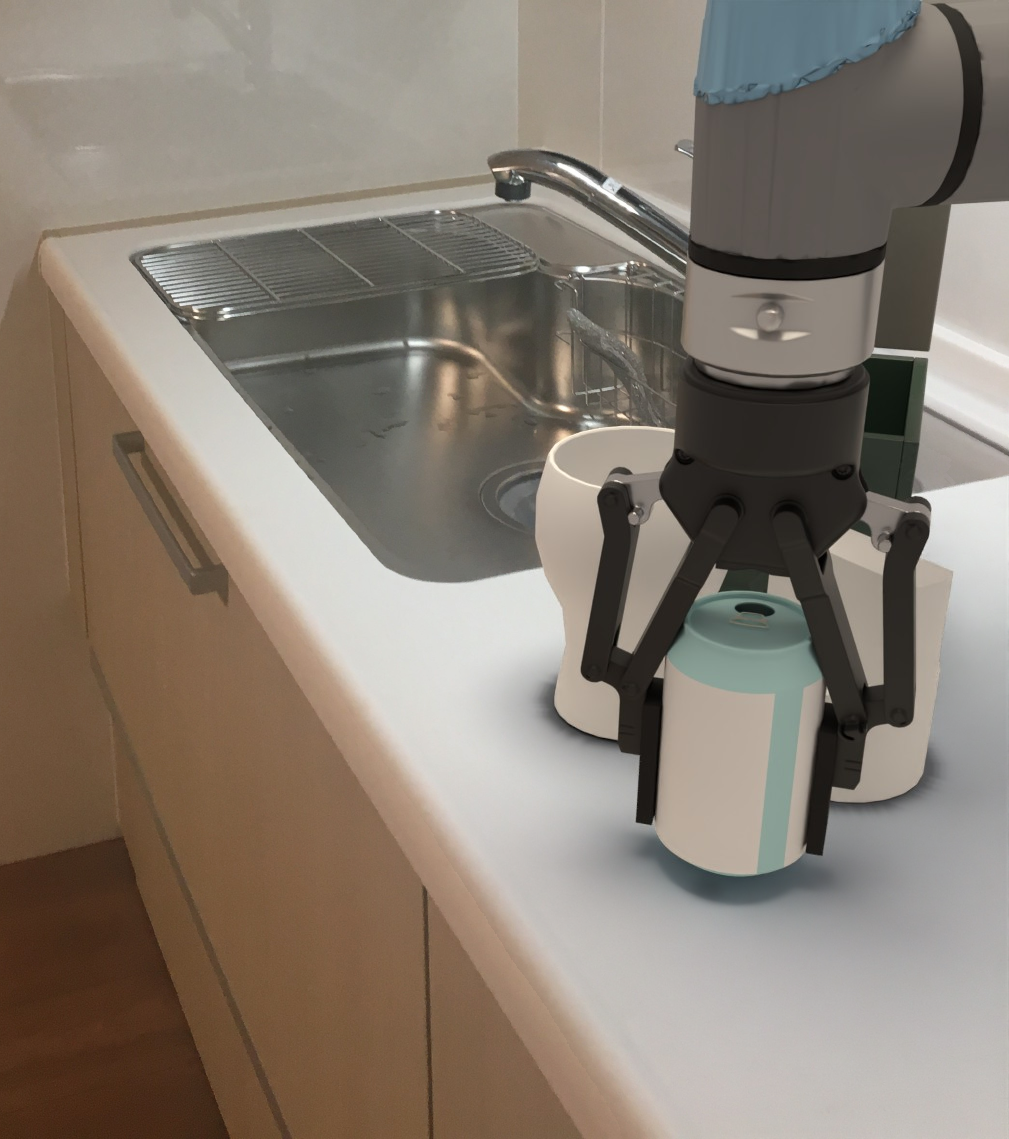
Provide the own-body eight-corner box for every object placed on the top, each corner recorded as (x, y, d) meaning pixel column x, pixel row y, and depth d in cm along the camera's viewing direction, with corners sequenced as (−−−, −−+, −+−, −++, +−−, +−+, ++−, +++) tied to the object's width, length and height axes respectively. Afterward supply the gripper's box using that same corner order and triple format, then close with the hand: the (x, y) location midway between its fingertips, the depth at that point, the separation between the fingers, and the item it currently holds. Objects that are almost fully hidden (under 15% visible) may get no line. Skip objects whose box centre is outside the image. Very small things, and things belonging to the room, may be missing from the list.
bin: (882, 685, 89) (919, 442, 82) (658, 651, 93) (677, 419, 86) (895, 576, 101) (928, 357, 94) (696, 551, 105) (715, 340, 99)
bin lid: (969, 80, 89) (969, 81, 90) (743, 76, 94) (744, 76, 94) (929, 352, 94) (929, 350, 94) (714, 335, 98) (716, 334, 99)
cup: (569, 644, 94) (580, 410, 88) (744, 685, 89) (770, 440, 82) (498, 727, 86) (504, 476, 79) (686, 776, 81) (710, 513, 74)
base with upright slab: (961, 765, 81) (998, 557, 76) (843, 823, 77) (874, 607, 72) (823, 693, 88) (849, 498, 83) (708, 743, 84) (727, 541, 79)
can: (629, 812, 77) (641, 595, 71) (759, 787, 78) (781, 573, 73) (695, 899, 70) (714, 668, 65) (836, 870, 72) (866, 642, 66)
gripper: (512, 369, 64) (504, 828, 74) (1045, 411, 57) (957, 913, 67) (554, 316, 70) (542, 747, 80) (1040, 348, 63) (960, 816, 73)
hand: (731, 822), depth 74 cm, fingers closed on can, 7 cm apart
